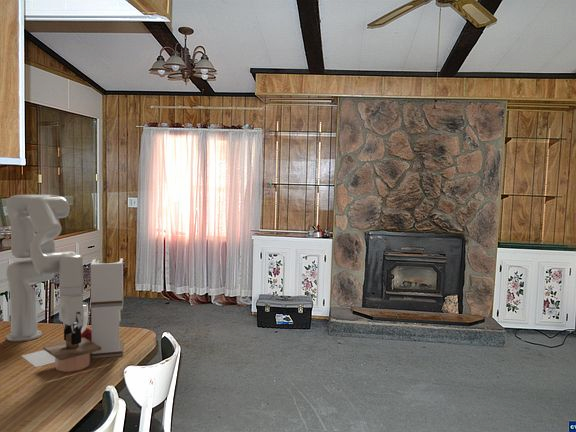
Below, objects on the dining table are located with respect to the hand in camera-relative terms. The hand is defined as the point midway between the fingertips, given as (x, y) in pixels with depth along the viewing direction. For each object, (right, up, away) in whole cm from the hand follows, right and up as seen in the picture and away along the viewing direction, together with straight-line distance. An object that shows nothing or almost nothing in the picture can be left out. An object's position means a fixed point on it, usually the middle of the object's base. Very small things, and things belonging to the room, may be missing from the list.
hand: (72, 341), depth 164 cm
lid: (0, -3, 0) cm, 3 cm away
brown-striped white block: (+7, -8, +15) cm, 18 cm away
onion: (-3, -8, +20) cm, 21 cm away
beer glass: (-10, -7, +27) cm, 30 cm away
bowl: (0, -9, +1) cm, 9 cm away
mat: (-12, -8, +9) cm, 18 cm away
